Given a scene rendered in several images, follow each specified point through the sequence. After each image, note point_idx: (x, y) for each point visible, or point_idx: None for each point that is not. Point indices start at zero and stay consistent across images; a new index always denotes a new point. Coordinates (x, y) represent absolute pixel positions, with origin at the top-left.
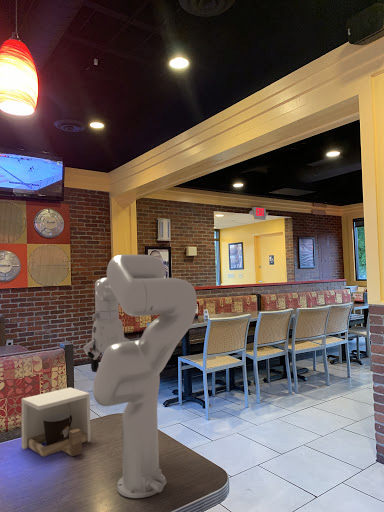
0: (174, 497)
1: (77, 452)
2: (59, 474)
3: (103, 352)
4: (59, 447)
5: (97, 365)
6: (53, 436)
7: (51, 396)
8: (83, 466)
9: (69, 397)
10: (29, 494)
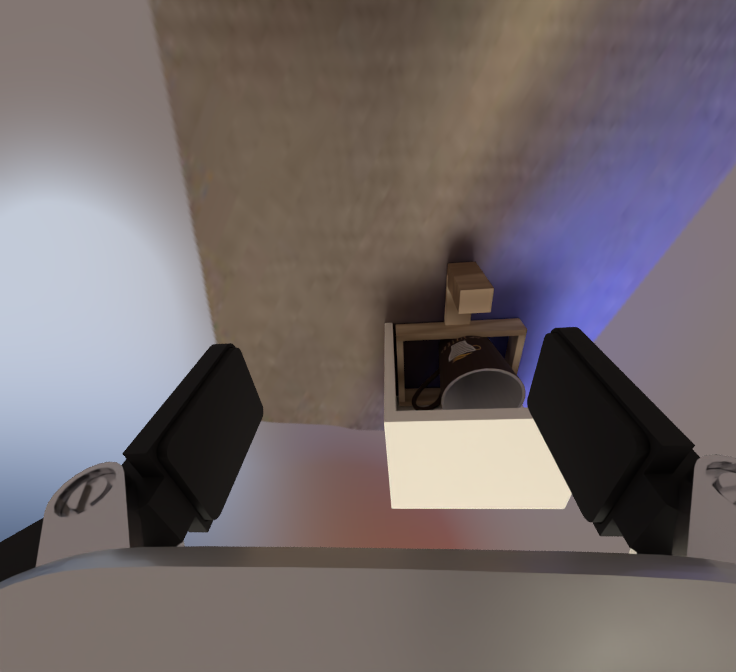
0: None
1: (462, 264)
2: (563, 186)
3: (708, 564)
4: (476, 325)
5: (614, 375)
6: (496, 350)
7: (496, 474)
8: (490, 181)
9: (467, 428)
10: (697, 123)
